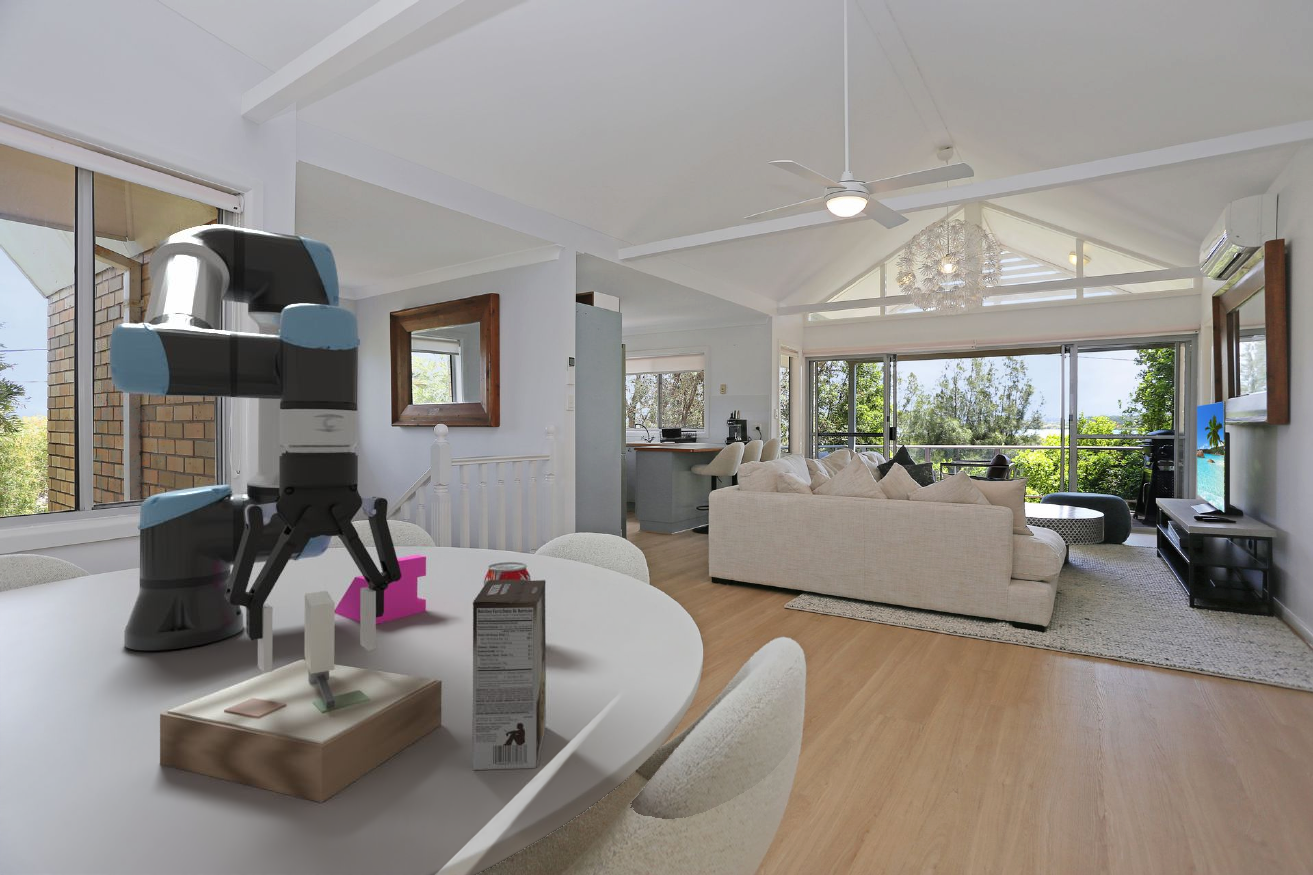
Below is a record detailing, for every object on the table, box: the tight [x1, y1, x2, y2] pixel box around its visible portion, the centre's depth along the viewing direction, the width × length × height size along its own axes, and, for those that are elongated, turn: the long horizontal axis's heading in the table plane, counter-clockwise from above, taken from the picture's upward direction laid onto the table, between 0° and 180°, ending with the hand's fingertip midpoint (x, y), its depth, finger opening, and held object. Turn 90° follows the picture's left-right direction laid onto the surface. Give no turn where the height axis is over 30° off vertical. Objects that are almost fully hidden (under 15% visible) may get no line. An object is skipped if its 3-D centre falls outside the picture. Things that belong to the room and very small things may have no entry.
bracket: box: [335, 554, 427, 625], centre depth 115 cm, size 12×10×10 cm
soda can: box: [483, 561, 532, 587], centre depth 98 cm, size 7×7×12 cm
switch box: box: [159, 659, 443, 804], centre depth 66 cm, size 20×16×5 cm
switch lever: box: [304, 590, 336, 708], centre depth 67 cm, size 2×13×9 cm, turn 34°
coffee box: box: [472, 579, 547, 771], centre depth 65 cm, size 9×6×16 cm
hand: (319, 657), depth 69 cm, fingers open, 9 cm apart
